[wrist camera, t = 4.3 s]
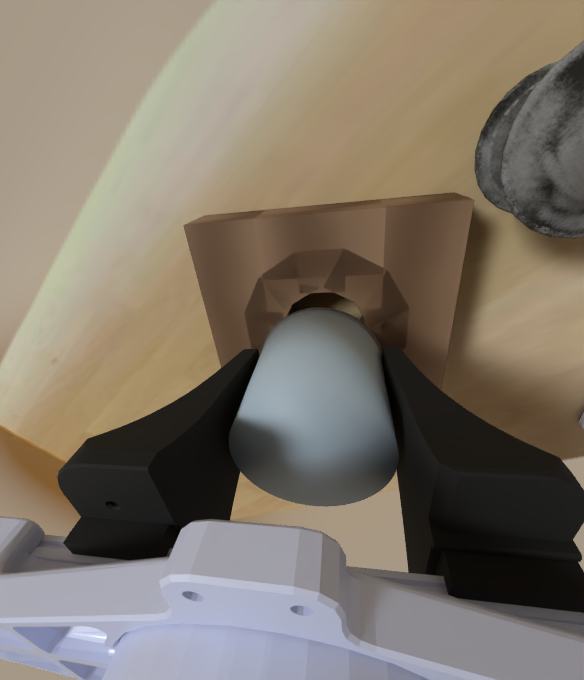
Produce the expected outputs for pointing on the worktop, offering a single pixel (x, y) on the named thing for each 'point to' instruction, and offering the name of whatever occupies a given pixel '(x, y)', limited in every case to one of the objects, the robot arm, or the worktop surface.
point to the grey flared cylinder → (538, 149)
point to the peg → (317, 412)
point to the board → (337, 270)
